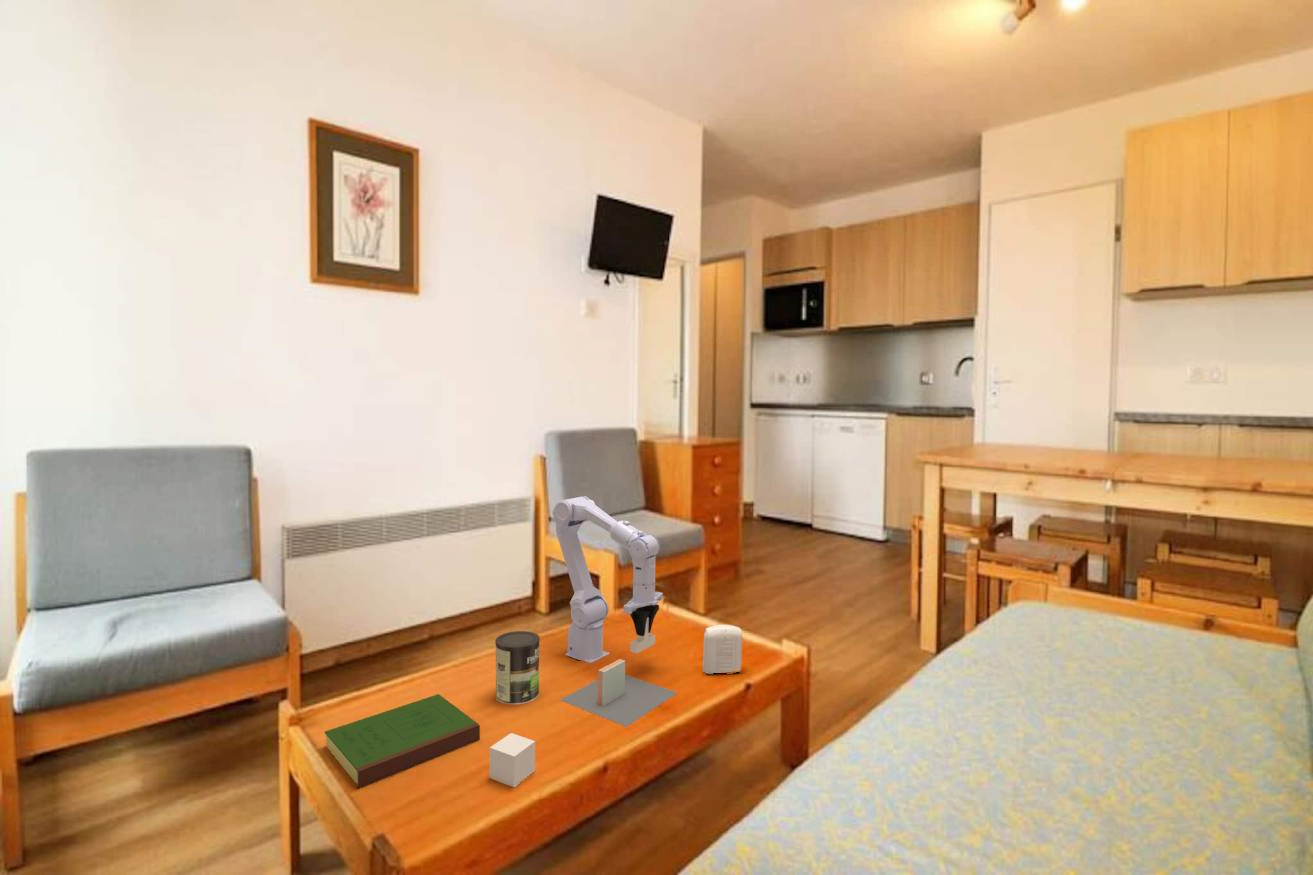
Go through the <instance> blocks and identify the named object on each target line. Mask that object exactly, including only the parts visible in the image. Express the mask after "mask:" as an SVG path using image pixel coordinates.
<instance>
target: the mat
mask: <svg viewBox="0 0 1313 875" xmlns="http://www.w3.org/2000/svg"><path fill="white" fill-rule="evenodd" d="M677 694H678V691H674V690H671V689H668V688H665V687H663V686H661V685H660V686H659V685H656V684H653V683H651V682H647V681H646V680H643V679H639V678H638V677H637V678H635V677H634V676H631V675H627V674H625V693H624V694H623V695H621V696H619V697H617V698H616V699H614V700H612V701H611V702H609V703H607V704H606V705H604V706H602V705H600V704H598V679H596V680H594V681H593V682H590V683H588V684H586V685H585V686H582V687H580V688H579V689H577V690H575V691H573V692H572V693H570V694H568V695H566V696H564V697H562V698H561V699H559V701H561V702H564V703H566V704H569V705H571V706H574V707H576V708H579V709H581V710H583V711H586V712H589V713H592V714H593V715H596V716H598V717H601V718H603V719H606V720H607V721H608V720H609V721H611V722H613V723H616V724H618V725H621V726H623V727H626V728H627V727H628V726H630V725H632V724H633V723H635V722H636V721H638V720H639V719H641V718H643V717H644V716H645V715H646V714H648V713H650V712H651V711H653V710H655V709H656V708H657V707H659V706H661V705H662V704H664V703H665V702H666V701H668V700H669V699H670V698H672V697H674V696H675V695H677Z"/></svg>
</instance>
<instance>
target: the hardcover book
mask: <svg viewBox="0 0 1313 875" xmlns="http://www.w3.org/2000/svg"><path fill="white" fill-rule="evenodd" d="M480 729H481V725H480V723H478V722H477V721H475V720H474V719H472V718H471V717H470V716H469V715H467V714H466V713H465V712H463V711H462V710H461V709H460V708H458V707H457V706H455V705H454V704H453V703H451V702H450V701H449V700H447V699H446V698H445V697H444V696H442V695H441V694H440V693H438V694H435V695H432V696H428V697H424V698H422V699H419V700H415V701H413V702H410V703H407V704H404V705H401V706H398V707H395V708H392V709H388V710H386V711H383V712H379V713H377V714H374V715H371V716H368V717H364V718H362V719H358V720H355V721H353V722H350V723H347V724H343V725H340V726H338V727H334V728H331V729H328V730H325V731H324V734H325V736H326V737H325V738H326V739H325V740H326V742H325V743H326V746H327V747H328V748H327V747H326V746H325V747H326V748H327V749H329V750H330V751H331V752H330V751H329V750H328V751H329V752H330V753H331V754H332V756H333V755H334V756H335V757H334V756H333V757H334V758H335V760H338V763H339V764H340V766H341V767H342V768H343V769H344V771H345V773H347V774H348V776H349V777H350V778H351V779H352V780H353V782H354V783H355V784H356V785H357V789H361V788H364V787H366V786H369V785H372V784H374V783H376V782H379V781H382V780H385V779H386V778H389V777H391V776H394V775H396V774H399V773H401V772H403V771H407V770H409V769H411V768H413V767H416V766H419V765H420V764H421V765H422V764H424V763H426V762H428V761H430V760H434V759H436V758H438V757H441V756H444V755H446V754H448V753H451V752H453V751H457V750H458V749H461V748H463V747H465V746H468V745H471V744H473V743H476V742H478V741H480V740H481V737H480V736H481V732H480V731H481V730H480Z"/></svg>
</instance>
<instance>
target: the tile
mask: <svg viewBox="0 0 1313 875" xmlns="http://www.w3.org/2000/svg"><path fill="white" fill-rule="evenodd" d="M625 675H626V660H624V659H621V658H619V659H617V660H615V661H613V662H612V663H610V664H608V665H605V666H603V667H602V668H600V669H598V670H597V680H598V704H600V705H602V706H604V705H606V704H607V703H609V702H611V701H612V700H614V699H616V698H617V697H619V696H621V695H623V694H624V693H625Z"/></svg>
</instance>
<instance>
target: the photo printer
mask: <svg viewBox="0 0 1313 875" xmlns="http://www.w3.org/2000/svg"><path fill="white" fill-rule="evenodd" d="M742 650H743V632H742V629H741V627H738V626H735V625H731V624H718V625H717V624H716V625H714V626H709V627H707V628H705V630H704V634H703V653H702V654H703V655H702V672H703V673H704V672H705V673H704V674H706V673H707V674H706V675H714V674H713V673H721V672H731V671H739V670H741V671H742V654H743V651H742Z"/></svg>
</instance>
